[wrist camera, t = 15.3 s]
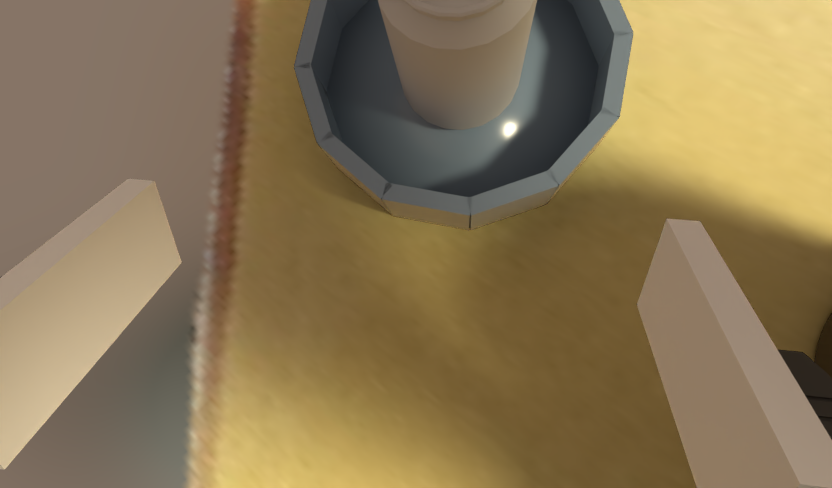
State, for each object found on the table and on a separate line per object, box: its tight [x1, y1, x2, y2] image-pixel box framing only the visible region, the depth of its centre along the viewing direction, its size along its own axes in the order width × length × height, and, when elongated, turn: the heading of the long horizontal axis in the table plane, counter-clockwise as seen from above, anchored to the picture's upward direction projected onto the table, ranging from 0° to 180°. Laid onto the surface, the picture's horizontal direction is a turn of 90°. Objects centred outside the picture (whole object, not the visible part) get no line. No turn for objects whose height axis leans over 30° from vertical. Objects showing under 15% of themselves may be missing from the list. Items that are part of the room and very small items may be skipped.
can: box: [378, 0, 537, 130], centre depth 27 cm, size 8×8×12 cm
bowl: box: [294, 0, 633, 230], centre depth 31 cm, size 19×19×4 cm
